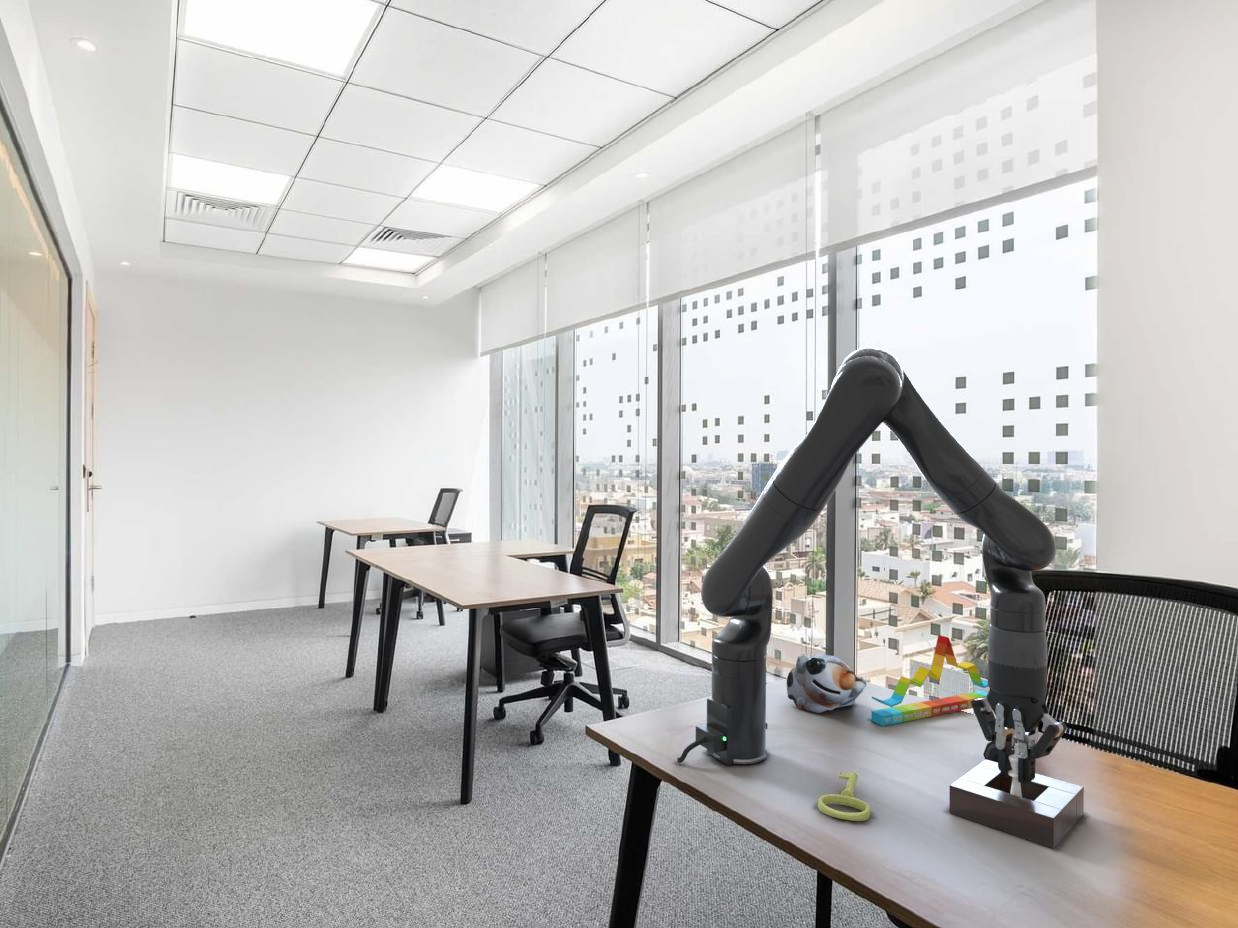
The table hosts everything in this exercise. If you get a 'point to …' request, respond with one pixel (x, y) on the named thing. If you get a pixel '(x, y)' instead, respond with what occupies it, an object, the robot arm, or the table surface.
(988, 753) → the microphone
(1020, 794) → the chess piece
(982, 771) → the holder
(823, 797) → the key
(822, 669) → the lucky cat figurine
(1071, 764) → the table surface
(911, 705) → the chart
